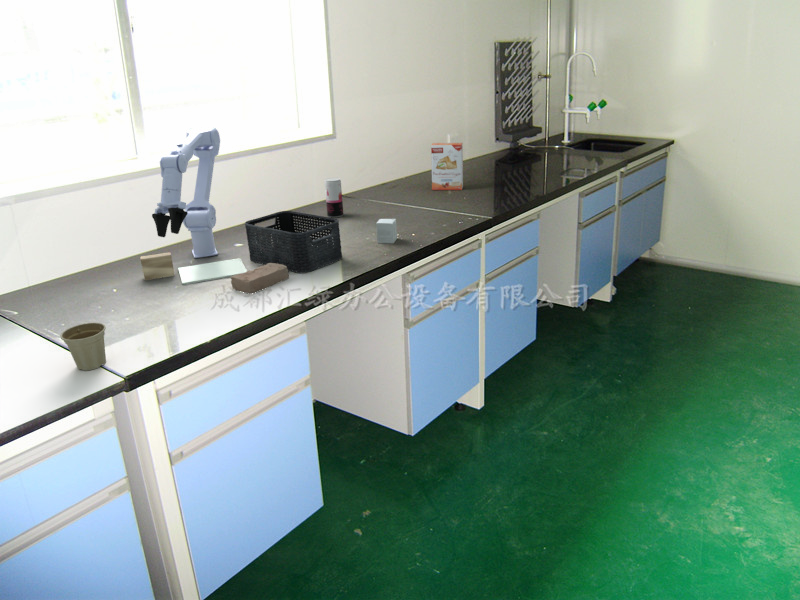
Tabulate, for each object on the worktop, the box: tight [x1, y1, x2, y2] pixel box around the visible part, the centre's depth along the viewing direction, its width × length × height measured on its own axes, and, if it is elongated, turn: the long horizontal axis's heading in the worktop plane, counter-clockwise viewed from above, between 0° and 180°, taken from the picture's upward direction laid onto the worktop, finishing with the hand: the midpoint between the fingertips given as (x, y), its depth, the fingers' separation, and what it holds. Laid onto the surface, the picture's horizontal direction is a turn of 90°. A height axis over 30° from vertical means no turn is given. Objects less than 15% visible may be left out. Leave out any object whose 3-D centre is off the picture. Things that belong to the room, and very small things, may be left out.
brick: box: [230, 263, 290, 295], centre depth 196 cm, size 17×8×5 cm, turn 145°
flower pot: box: [60, 322, 107, 371], centre depth 150 cm, size 9×9×9 cm
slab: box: [140, 252, 176, 281], centre depth 207 cm, size 3×9×7 cm, turn 112°
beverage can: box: [324, 177, 344, 218], centre depth 266 cm, size 6×6×15 cm
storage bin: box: [244, 210, 343, 274], centre depth 215 cm, size 29×19×13 cm
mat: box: [177, 257, 248, 285], centre depth 209 cm, size 16×20×1 cm
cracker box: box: [430, 142, 464, 191], centre depth 301 cm, size 14×6×21 cm, turn 81°
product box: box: [375, 218, 398, 244], centre depth 231 cm, size 6×6×7 cm
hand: (168, 235), depth 201 cm, fingers open, 7 cm apart
